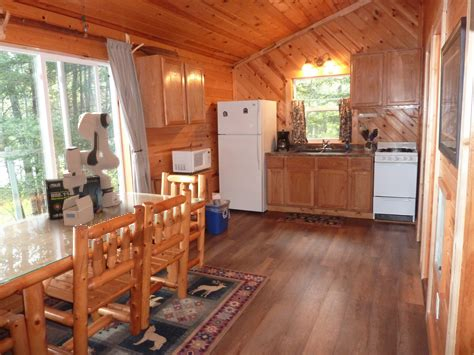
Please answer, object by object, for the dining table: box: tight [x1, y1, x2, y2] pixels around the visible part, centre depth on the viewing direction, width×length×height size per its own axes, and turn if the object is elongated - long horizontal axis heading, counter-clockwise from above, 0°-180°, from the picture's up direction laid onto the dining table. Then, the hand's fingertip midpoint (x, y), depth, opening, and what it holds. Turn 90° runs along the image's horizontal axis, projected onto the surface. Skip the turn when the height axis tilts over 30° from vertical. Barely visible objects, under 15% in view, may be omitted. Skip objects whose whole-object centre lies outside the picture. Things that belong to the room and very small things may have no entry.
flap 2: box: [75, 195, 93, 211], centre depth 239 cm, size 15×7×1 cm
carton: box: [63, 205, 95, 227], centre depth 242 cm, size 17×11×10 cm, turn 170°
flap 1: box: [62, 195, 79, 210], centre depth 241 cm, size 15×7×1 cm
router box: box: [44, 174, 103, 221], centre depth 260 cm, size 36×11×27 cm, turn 123°
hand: (76, 193), depth 239 cm, fingers open, 8 cm apart
